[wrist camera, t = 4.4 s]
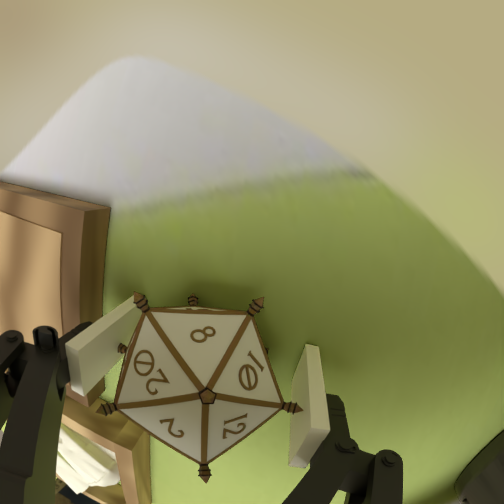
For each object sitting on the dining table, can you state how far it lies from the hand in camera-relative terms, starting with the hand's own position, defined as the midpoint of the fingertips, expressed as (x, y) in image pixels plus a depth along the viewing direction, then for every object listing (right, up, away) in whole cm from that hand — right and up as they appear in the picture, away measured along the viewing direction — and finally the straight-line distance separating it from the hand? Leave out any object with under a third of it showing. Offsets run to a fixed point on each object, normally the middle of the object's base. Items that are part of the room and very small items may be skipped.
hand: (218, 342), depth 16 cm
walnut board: (-15, +3, +2) cm, 15 cm away
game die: (0, 0, 0) cm, 1 cm away
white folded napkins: (-17, -14, +5) cm, 22 cm away
